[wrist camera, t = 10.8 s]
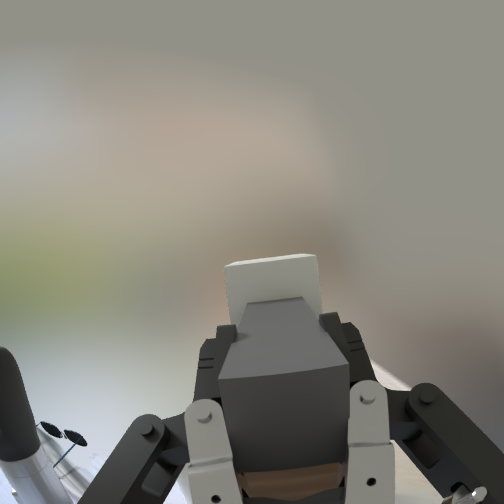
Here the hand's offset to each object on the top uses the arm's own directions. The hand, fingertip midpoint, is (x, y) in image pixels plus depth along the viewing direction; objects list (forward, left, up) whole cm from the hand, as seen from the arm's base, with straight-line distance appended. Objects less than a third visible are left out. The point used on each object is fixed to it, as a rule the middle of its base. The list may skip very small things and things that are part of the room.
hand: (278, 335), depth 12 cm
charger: (+3, +4, -3) cm, 6 cm away
